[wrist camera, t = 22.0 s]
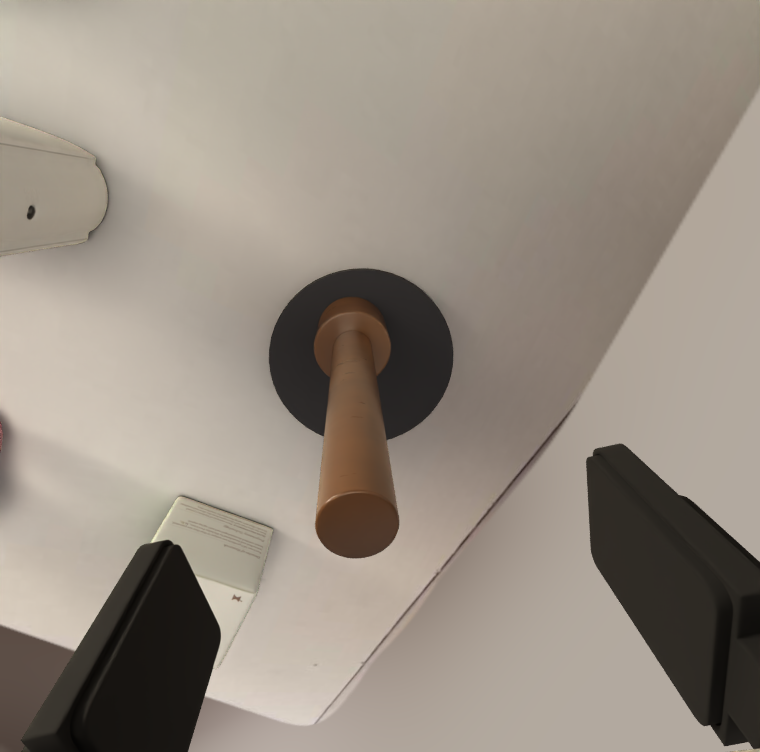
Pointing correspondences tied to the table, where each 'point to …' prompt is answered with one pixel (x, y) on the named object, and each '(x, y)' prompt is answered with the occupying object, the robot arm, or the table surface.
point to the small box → (220, 559)
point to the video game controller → (1, 435)
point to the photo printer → (46, 190)
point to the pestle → (354, 433)
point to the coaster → (407, 357)
